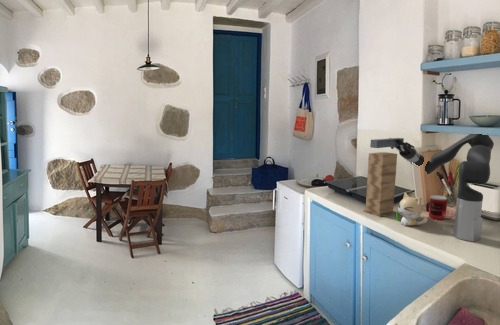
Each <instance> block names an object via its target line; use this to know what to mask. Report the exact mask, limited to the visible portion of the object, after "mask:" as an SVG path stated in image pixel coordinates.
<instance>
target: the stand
mask: <svg viewBox="0 0 500 325" xmlns="http://www.w3.org/2000/svg"><path fill="white" fill-rule="evenodd" d="M397 161H398V153H396V152H395V153H394V152H386V151H380V152H379V151H378V152H369V153H368V162H367V175H366V176H367V180H366V194H365V195H366V198H365V208H364V209H362V210H363V212H364V213H367V214H370V215H373V216H376V217H379V218H381V217H385V216H390V215H394V214H396V211H395V210H394V206H395V193H396V192H395V190H396V176H397V166H398V165H397V164H398V163H397Z"/></svg>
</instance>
